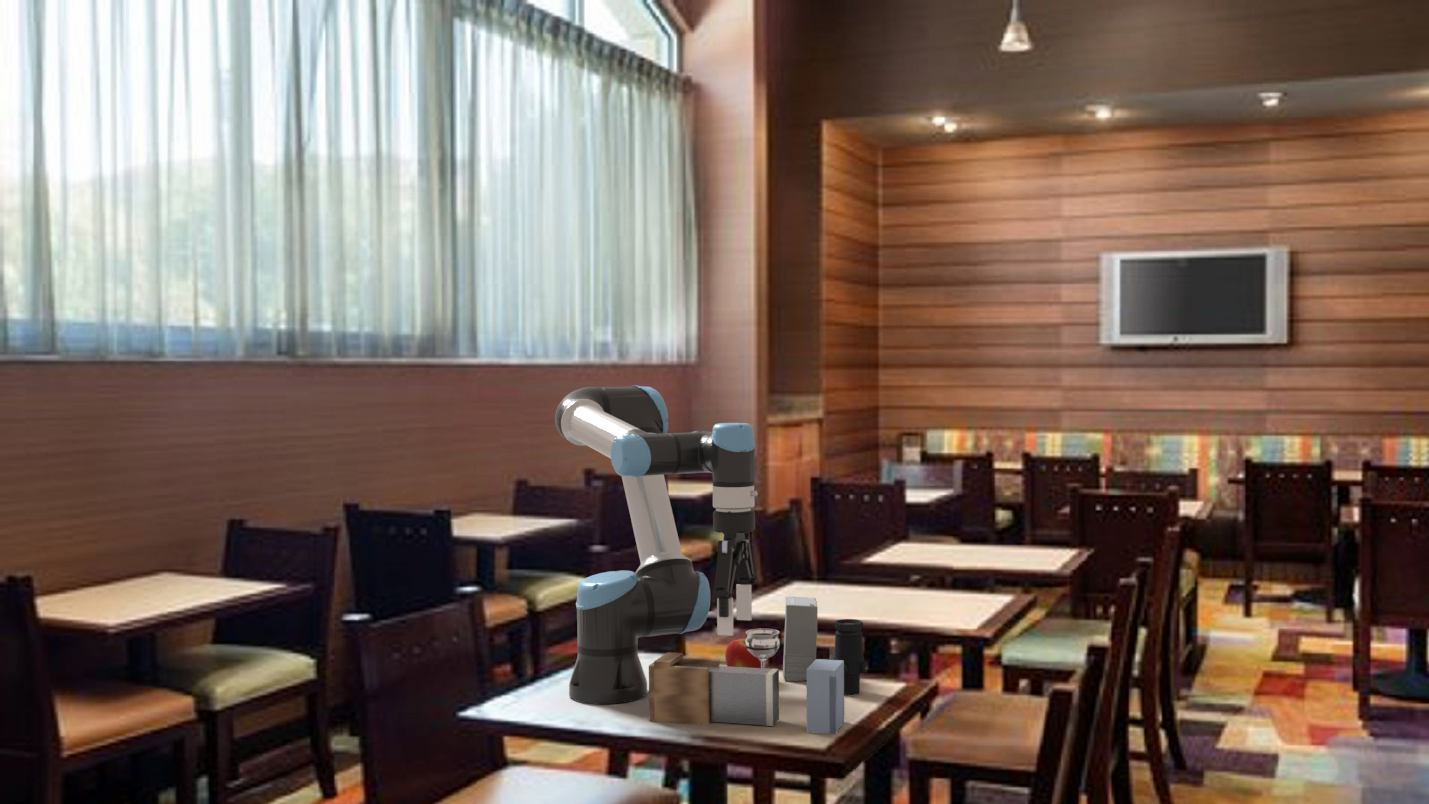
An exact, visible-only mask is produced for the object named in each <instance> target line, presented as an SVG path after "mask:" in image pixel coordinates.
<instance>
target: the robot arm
mask: <svg viewBox="0 0 1429 804" xmlns="http://www.w3.org/2000/svg"><path fill="white" fill-rule="evenodd" d="M668 419H669V413H668V407H667V405H666V403H665V400H664V398H663V397H662V395H661V393H660V392H658V390H657V389H655V388H653V387H651V386H643V385H642V386H640V385H633V384H632V385H630V386H598V387H597V386H586V387H581V388H579V389H575V390H573V391H572V392H570V393H568V394H566V395H565V396H564V397H563V398H562V400H561V401H560V403H559V404H558V405H557V407H556V410H555V415H554V422H555V423H554V424H555V428H556V429H557V431H558V433H559V435H560V436H561V437H562V438H563V439H565V440H566V441H567V442H570V443H571V444H573V445H576V446H583V447H584V446H587V447H589V448H591V449H592V450H594V451H596V452H597V453H600V454H602V455H603V456H605V457H607V458H609V459H610V461H611V462H610V463H611V466H612V468H613V469H614V471H615V473H616V474H617V475H618V476H620V477H621V480H622V484H623V489H624V493H625V498H626V502H627V507H628V511H629V515H630V519H631V520H630V521H631V526H632V530H633V534H634V538H635V543H636V547H637V553H638V557H639V561H640V562H639V563H640V564H639V566H638V568H637V569H636V571H635V572H634V571H631V570H626V569H625V570H623V569H621V570H616V571H615V570H613V571H612V570H611V571H606V572H600V573H597V574H593V575H589V576H588V577H585V578H584V579H582V580H581V581H580V582H579V584H578V586H577V593H576V602H575V606H576V621H577V626H576V627H577V632H576V633H577V658H576V660H575V665H574V667H573V671H572V674H571V676H570V681H569V685H568V687H569V688H568V690H569V691H568V695H569V697H570V698H571V699H572V700H574V701H577V702H579V703H580V702H581V703H587V704H588V703H589V704H599V705H600V704H602V705H603V704H605V705H606V704H618V703H619V704H620V703H627V702H632V701H637V700H639V699H642V698H644V697H646V695H647V694H648V680H647V677H646V674H645V672H644V669H643V665H642V663H641V660H640V657H639V650H638V646H639V645H638V644H639V643H638V639H639V638H646V637H647V638H649V637H656V636H664V635H672V634H678V635H679V634H680V635H681V634H684V633H688V632H693V631H697V630H699V629H701V628H702V627H703V625H704V624H705V623H706V621H707V618H708V616H709V611H710V609H711V607H710V606H711V597H712V599H716V615H717V616H716V623H717V625H716V627H717V628H716V630H717V633H716V635H717V636H729V637H730V636H732V637H733V636H734V598H733V597H732V593H733V587H734V581H735V576H736V579H737V583H736V585H735V587H736V588H735V591H736V593H735V596H736V598H735V599H736V606H735V607H736V610H735V611H736V620H737V621H752V619H753V616H752V615H753V614H752V613H753V609H752V604H753V603H752V602H753V601H752V595H753V594H752V584H754V585H755V584H756V583H757V578H756V577H755V576H756V575H755V571H754V562H753V556H752V549H751V548H752V547H751V537H750V536H751V535H750V533H751V532H753V531H755V529H756V512H755V510H753V509H752V508H754V507H755V502H756V501H755V498H756V497H758V495H759V494H758V491H757V490H755V481H756V479H755V477H756V476H755V468H756V467H755V466H756V465H755V463H756V462H755V460H756V456H755V455H756V454H755V453H756V451H755V448H756V442H755V435H754V434H755V433H754V432H755V431H754V427H753V425H752V424H750V423H748V422H747V423H746V422H720V423H715V424H714V425H713V427H712V431H709V430H695V431H691V432H671V433H670V432H669V433H667V432H668V430H669V422H668ZM698 473H709V474H710V473H711V474H712V507H713V508H714V509H715V510H714V511H713V512H712V529H713V530H714V532H716V533H721V534H723V540H718V541H717V556H716V557H717V558H716V567H715V576H714V584H713V592H712V593H711V588H710V583H709V580H708V578H707V576H706V575H705V574H704V572H700V571H698V570H697V571H695V570H694V566H693V561H692V560H691V559H690V558H689V557H687V556H685V555H684V554H683V552H682V548H681V544H680V538H679V536H678V531H677V530H678V529H677V527H676V526H677V525H676V522H675V517H674V513H673V509H672V505H671V501H670V496H669V493H668V488H667V483H666V479H665V475H677V474H679V475H681V474H698Z"/></svg>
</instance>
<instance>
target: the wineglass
mask: <svg viewBox="0 0 1429 804" xmlns="http://www.w3.org/2000/svg"><path fill="white" fill-rule="evenodd" d="M745 634H746V635H747V638H745V639H746V641H745V644H746V645H745V646H746V648H747V650H748V651H749V652H750V654H751V655H752V656H754V657H756V658H758V659H759V661H761V668H765V669H766V661H767V660H768V659H769V658H772V657H773V656H774V655H776V653H777V652H778V651H779V649H780V645H781V639H780V637H779V635H780V631H779V630H777V629H773V628H753V629H748V630H746V631H745Z"/></svg>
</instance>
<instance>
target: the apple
mask: <svg viewBox="0 0 1429 804" xmlns="http://www.w3.org/2000/svg"><path fill="white" fill-rule="evenodd" d="M745 637H746V638H747V634H746V636H745ZM746 638H739V639H735V640H731V642H730V643H728V644H727V647H726V649H725V654H724V655H725V656H724V657H725V663H726V666H730V667H747V668H761V661H759V659H758V658H756V657H754V656H752V655H751V654H750V652H749V651H748V650H747V648H746V646H745V645H746V644H745V641H746Z"/></svg>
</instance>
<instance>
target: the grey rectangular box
mask: <svg viewBox="0 0 1429 804" xmlns="http://www.w3.org/2000/svg"><path fill="white" fill-rule="evenodd" d="M672 666H687V667H704V668H709V715H710V723H711V722H712V723H713V722H714V723H724V724H725V723H728V724H741V725H756V726H767V727H774V726H775V724H777V722H778V721H779V720H780V678H779V677H780V673H779V672H780V670H779V668H766V667H765V668H747V667H730V666H727V665H726V666H725V665H720V666H712V665H694V664H677V663H675V664H673V665H672Z"/></svg>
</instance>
